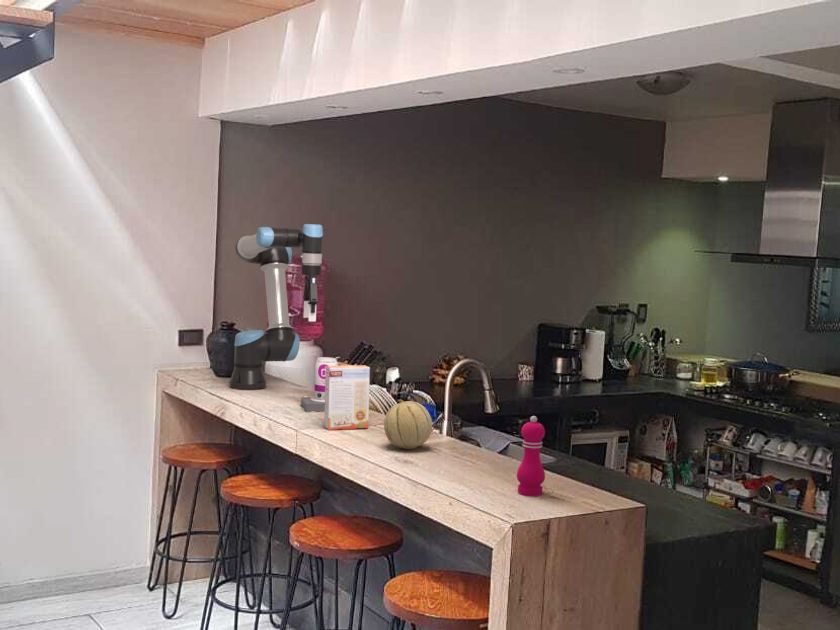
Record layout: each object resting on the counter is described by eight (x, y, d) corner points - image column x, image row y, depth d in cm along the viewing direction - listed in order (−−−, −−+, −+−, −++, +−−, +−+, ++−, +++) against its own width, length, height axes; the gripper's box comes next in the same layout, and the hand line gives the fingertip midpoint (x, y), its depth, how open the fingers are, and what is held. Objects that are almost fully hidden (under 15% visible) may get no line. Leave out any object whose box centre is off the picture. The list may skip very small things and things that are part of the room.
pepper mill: (545, 491, 251) (549, 414, 249) (542, 498, 244) (546, 419, 242) (518, 488, 252) (521, 412, 251) (513, 495, 245) (517, 417, 244)
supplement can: (335, 401, 353) (336, 360, 352) (312, 400, 354) (314, 359, 352) (337, 397, 362) (339, 357, 360) (315, 396, 362) (316, 356, 361)
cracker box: (363, 425, 328) (365, 364, 326) (368, 429, 322) (370, 367, 321) (323, 427, 323) (325, 364, 321) (327, 430, 317) (329, 367, 316)
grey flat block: (300, 405, 363) (301, 395, 362) (342, 404, 367) (343, 395, 366) (306, 411, 349) (306, 401, 349) (349, 411, 353) (350, 401, 353)
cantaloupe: (434, 454, 289) (436, 404, 288) (385, 453, 287) (387, 403, 286) (427, 443, 304) (429, 396, 302) (380, 443, 301) (382, 395, 300)
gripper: (297, 262, 382) (295, 315, 384) (306, 265, 358) (304, 322, 360) (316, 263, 384) (314, 316, 386) (326, 266, 360) (324, 323, 362)
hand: (309, 319), depth 373 cm, fingers open, 13 cm apart
